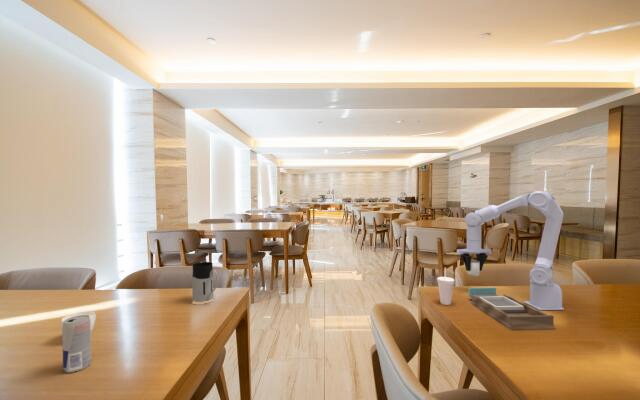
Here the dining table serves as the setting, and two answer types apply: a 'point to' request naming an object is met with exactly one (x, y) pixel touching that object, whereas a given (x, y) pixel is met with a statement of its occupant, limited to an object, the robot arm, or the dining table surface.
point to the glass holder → (203, 281)
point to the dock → (516, 315)
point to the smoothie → (445, 289)
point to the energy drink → (76, 343)
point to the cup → (89, 313)
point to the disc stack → (474, 268)
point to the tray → (497, 300)
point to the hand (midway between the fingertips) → (473, 270)
